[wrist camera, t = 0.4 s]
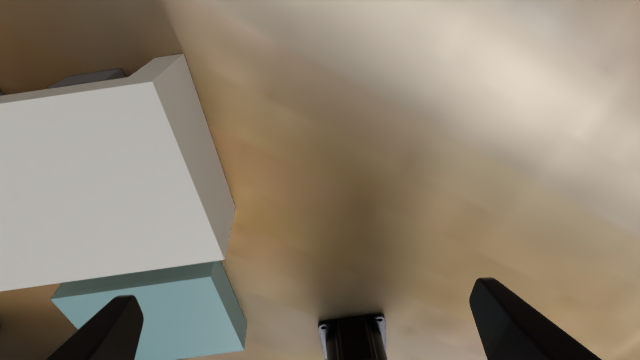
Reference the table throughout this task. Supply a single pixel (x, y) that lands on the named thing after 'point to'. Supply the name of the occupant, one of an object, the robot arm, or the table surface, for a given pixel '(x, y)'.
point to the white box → (109, 178)
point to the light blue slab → (167, 309)
